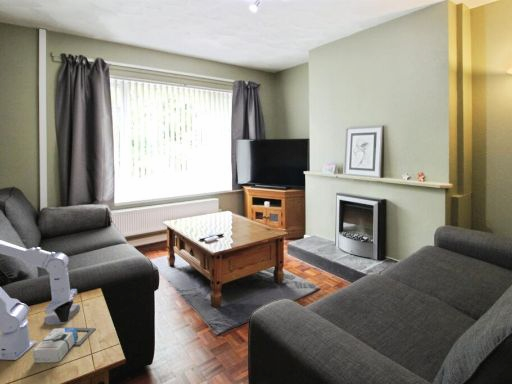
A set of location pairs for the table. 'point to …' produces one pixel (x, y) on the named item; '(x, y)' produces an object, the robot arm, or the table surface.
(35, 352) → the ink box
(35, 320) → the table surface
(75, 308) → the stone block
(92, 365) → the table surface
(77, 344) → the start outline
